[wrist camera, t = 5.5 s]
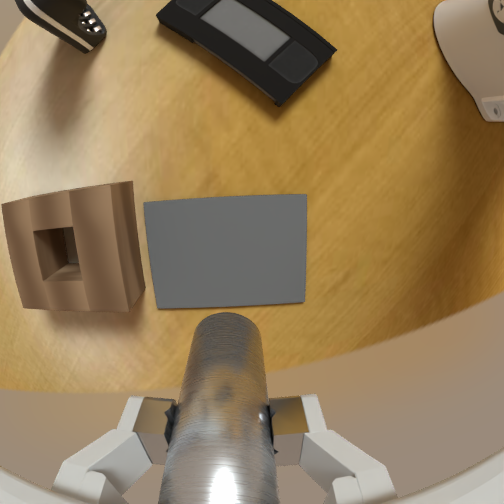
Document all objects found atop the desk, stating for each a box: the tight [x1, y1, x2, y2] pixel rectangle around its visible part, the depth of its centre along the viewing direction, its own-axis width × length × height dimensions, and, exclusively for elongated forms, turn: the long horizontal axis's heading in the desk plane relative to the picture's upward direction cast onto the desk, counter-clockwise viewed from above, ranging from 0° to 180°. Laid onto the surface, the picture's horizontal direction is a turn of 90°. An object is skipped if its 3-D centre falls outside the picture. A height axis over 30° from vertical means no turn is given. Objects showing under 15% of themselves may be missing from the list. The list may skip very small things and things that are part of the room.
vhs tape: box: [156, 0, 337, 107], centre depth 20 cm, size 8×14×2 cm, turn 49°
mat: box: [144, 194, 307, 308], centre depth 26 cm, size 14×10×1 cm
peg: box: [158, 312, 280, 504], centre depth 8 cm, size 3×3×10 cm
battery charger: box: [15, 0, 107, 53], centre depth 14 cm, size 7×4×11 cm, turn 33°
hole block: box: [2, 181, 145, 312], centre depth 23 cm, size 12×10×5 cm
